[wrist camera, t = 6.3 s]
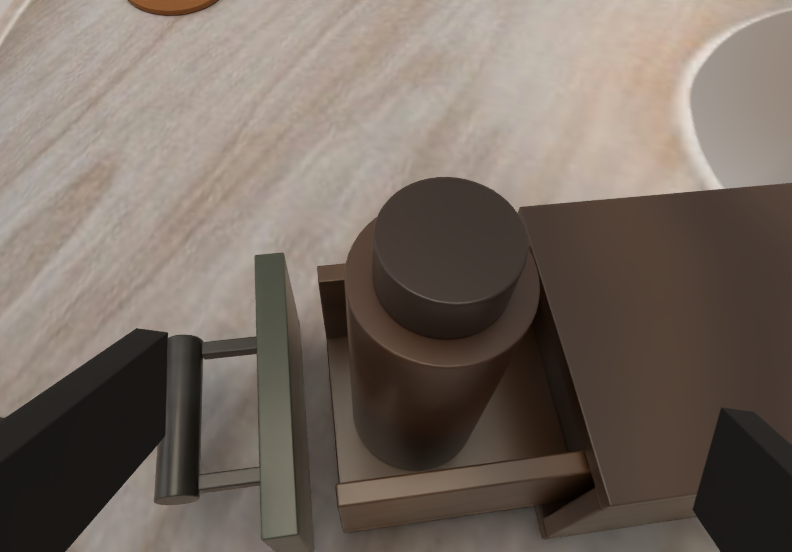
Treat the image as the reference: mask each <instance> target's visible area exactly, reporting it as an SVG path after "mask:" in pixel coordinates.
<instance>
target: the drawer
mask: <svg viewBox="0 0 792 552" xmlns="http://www.w3.org/2000/svg"><path fill="white" fill-rule="evenodd" d="M345 265H346V264H336V265H325V266H318V267H317V272H318V283H319V290H320V297H321V304H322V311H323V318H324V325H325V332H326V340H327V352H328V363H329V374H330V386H331V397H332V409H333V420H334V432H335V443H336V454H337V466H338V477H339V483H338V484H336V496H337V506H338V510H339V514H340V518H341V523H342V527H343V531H344V533H347V532H354V531H361V530H368V529H375V528H382V527H389V526H396V525H403V524H410V523H417V522H424V521H430V520H437V519H444V518H451V517H458V516H465V515H472V514H479V513H486V512H493V511H500V510H507V509H514V508H521V507H528V506H535V505H542V504H549V503H556V502H563V501H570V500H574V499H576V498H578V497H579V496H581V495H583V494H584V493H586V492H588V491H589V490H591V489H593V488H594V487H595V484H594V481H593V477H592V474H591V471H590V467H589V464H588V460H587V457H586V454H585V450H584V447H583V443H582V440H581V437H580V433H579V430H578V426H577V423H576V420H575V416H574V413H573V409H572V406H571V403H570V399H569V396H568V392H567V389H566V386H565V382H564V379H563V376H562V372H561V369H560V365H559V362H558V359H557V355H556V352H555V348H554V345H553V342H552V338H551V335H550V331H549V328H548V325H547V321H546V318H545V314H544V311H543V308H542V304H541V301H540V297H539V303H538V308H537V312H536V314H535V317H534V319H533V322H532V324H531V325H530V327H529V329H528V331H527V333H526V335H525V336H524V338H523V340H522V342H521V344H520V346H519V347H518V349H517V351H516V353H515V355H514V357H513V358H512V360H511V362H510V364H509V366H508V368H507V370H506V371H505V373H504V375H503V377H502V379H501V381H500V382H499V384H498V386H497V388H496V390H495V392H494V393H493V395H492V397H491V399H490V401H489V403H488V404H487V406H486V408H485V410H484V412H483V414H482V415H481V417H480V419H479V421H478V423H477V425H476V426H475V428H474V430H473V432H472V434H471V436H470V437H469V439H468V441H467V443H466V444H465V446H464V447H463V448H462V450H461V451H460V452H459V453H458V454H457V455H456V456H455V457H454V458H452V459H451V460H449V461H448V462H446V463H444V464H442V465H440V466H438V467H435V468H432V469H427V470H418V471H413V470H404V469H399V468H396V467H393V466H391V465H389V464H387V463H385V462H383V461H381V460H380V459H379V458H377V457H376V456H375V455H374V454H372V453H371V452H370V451H369V449H368V448H367V447H366V446H365V445H364V443H363V442H362V440H361V438H360V436H359V434H358V432H357V430H356V426H355V423H354V418H353V406H352V391H351V376H350V361H349V346H348V331H347V316H346V301H345V284H344V273H345ZM255 295H256V337H248V338H238V339H229V340H220V341H210V342H203V341H202V339H200V338H198V337H196V336H192V335H176V336H172V337H169V338H168V348H167V390H166V432H165V437H164V438H163V439H162V440H161V441H160V443H159V444H158V446H157V462H156V479H155V495H154V502H155V503H156V504H161V505H179V504H186V503H191V502H194V501H197V500H198V499H199V497H200V492H201V493H206V492H214V491H221V490H229V489H236V488H244V487H251V486H259V485H260V510H261V539H262V541H264V542H265V543H266V544H267V545H269V546H270V547H271V548H272V549H273V550H275V551H276V552H314V539H313V524H312V508H311V492H310V477H309V461H308V445H307V430H306V414H305V398H304V383H303V367H302V351H301V336H300V323H299V319H298V314H297V310H296V305H295V301H294V296H293V292H292V287H291V283H290V278H289V274H288V270H287V265H286V261H285V256H284V253H274V254H263V255H255ZM251 354H257V381H258V424H259V467H253V468H245V469H237V470H230V471H222V472H214V473H207V474H200V458H201V419H202V379H203V358H204V359H214V358H223V357H233V356H242V355H251Z"/></svg>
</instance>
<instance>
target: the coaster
mask: <svg viewBox="0 0 792 552" xmlns="http://www.w3.org/2000/svg"><path fill="white" fill-rule="evenodd" d="M128 1H129V2H130V3H131V4H132V5H134V6H135V7H137V8H139V9H141V10H143V11H146V12H149V13H153V14H159V15H180V14H187V13H191V12H195V11H198V10H201V9H204V8H206V7H208V6H210V5H212V4H213V3H215V2H216V1H218V0H128Z"/></svg>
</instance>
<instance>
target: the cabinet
mask: <svg viewBox="0 0 792 552" xmlns="http://www.w3.org/2000/svg"><path fill="white" fill-rule="evenodd" d="M518 215H519V217H520V219H521V221H522V222H523V225H524V228H525V230H526V235H527V239H528V249H529V251H530V253H531V255H532V256H533V259H534V262H535V264H536V267H537V271H538V276H539V283H540V296H539V297H540V301H541V304H542V308H543V311H544V314H545V318H546V321H547V325H548V328H549V331H550V335H551V338H552V342H553V345H554V348H555V352H556V355H557V359H558V362H559V365H560V369H561V372H562V376H563V379H564V382H565V386H566V389H567V392H568V396H569V399H570V403H571V406H572V409H573V413H574V416H575V420H576V423H577V426H578V430H579V433H580V437H581V440H582V443H583V447H584V450H585V454H586V457H587V460H588V464H589V467H590V471H591V474H592V477H593V481H594V484H595V487H594V488H593V489H591V490H589V491H588V492H586V493H584V494H583V495H581V496H579V497H578V498H576V499H574V500H570V501H563V502H556V503H549V504H542V505H535V510H536V514H537V518H538V522H539V526H540V531H541V535H542V538H543V539H551V538H558V537H564V536H571V535H578V534H584V533H591V532H598V531H604V530H611V529H618V528H624V527H631V526H638V525H644V524H651V523H658V522H664V521H671V520H678V519H684V518H691V517H697V516H696V514H695V513H694V511H693V510H692V509H693V506H694V502H695V499H696V495H697V491H698V488H699V484H700V481H701V477H702V474H703V470H704V467H705V463H706V459H707V456H708V452H709V449H710V445H711V442H712V438H713V435H714V431H715V427H716V424H717V420H718V417H719V413H720V410H721V407H722V408H730V409H737V410H745V411H752V412H755V413H756V414H757V415H759V416H760V417H761V418H762V419H763V420H764V421H765V422H766V423H768V424H769V425H770V426H771V427H772V428H773V429H774V430H775V431H777V432H778V433H779V434H780V435H781V436H782V437H783V438H784V439H785V440H787V441H788V442H789V443H790V444H791V445H792V183H786V184H776V185H764V186H752V187H741V188H730V189H718V190H707V191H696V192H684V193H673V194H662V195H651V196H639V197H628V198H617V199H605V200H594V201H583V202H571V203H560V204H549V205H537V206H526V207H520V208H519V211H518Z"/></svg>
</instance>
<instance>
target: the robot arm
mask: <svg viewBox="0 0 792 552" xmlns="http://www.w3.org/2000/svg"><path fill="white" fill-rule="evenodd" d="M167 348H168V333H167V332H159V331H152V330H145V329H137V328H136V329H135V330H133V331H132V332H131V333H129V334H128V335H126V336H125V337H123V338H122V339H120V340H119V341H117V342H116V343H114V344H113V345H111V346H110V347H109V348H107V349H106V350H104V351H103V352H101V353H100V354H98V355H97V356H95V357H94V358H92V359H91V360H89V361H88V362H87V363H85V364H84V365H82V366H81V367H79V368H78V369H76V370H75V371H73V372H72V373H70V374H69V375H67V376H66V377H65V378H63V379H62V380H60V381H59V382H57V383H56V384H54V385H53V386H51V387H50V388H48V389H47V390H46V391H44V392H43V393H41V394H40V395H38V396H37V397H35V398H34V399H32V400H31V401H29V402H28V403H26V404H25V405H24V406H22V407H21V408H19V409H18V410H16V411H15V412H13V413H12V414H10V415H9V416H7V417H6V418H1V417H0V552H65V551H66V550H67V549H68V548H69V547H70V546H71V544H72V543H73V542H74V541H75V540H76V539H77V538H78V536H79V535H80V534H81V533H82V532H83V531H84V529H85V528H86V527H87V526H88V525H89V524H90V522H91V521H92V520H93V519H94V518H95V517H96V516H97V514H98V513H99V512H100V511H101V510H102V509H103V507H104V506H105V505H106V504H107V503H108V502H109V500H110V499H111V498H112V497H113V496H114V495H115V494H116V492H117V491H118V490H119V489H120V488H121V487H122V485H123V484H124V483H125V482H126V481H127V480H128V479H129V477H130V476H131V475H132V474H133V473H134V472H135V470H136V469H137V468H138V467H139V466H140V465H141V463H142V462H143V461H144V460H145V459H146V458H147V457H148V455H149V454H150V453H151V452H152V451H153V450H154V448H155V447H156V446H157V445H158V444H159V443H160V441H161V440H162V439H163V438H164V437H165V432H166V390H167ZM692 510H693V511H694V513H695V514H696V516H697V517H698V519H699V520H700V522H701V523H702V525H703V526H704V528H705V529H706V531H707V532H708V534H709V535H710V537H711V538H712V539H713V541H714V542H715V544H716V545H717V547H718V548H719V550H720V551H721V552H792V445H791V444H790V443H789V442H788V441H787V440H785V439H784V438H783V437H782V436H781V435H780V434H779V433H778V432H777V431H775V430H774V429H773V428H772V427H771V426H770V425H769V424H768V423H766V422H765V421H764V420H763V419H762V418H761V417H760V416H759V415H757V414H756V413H755V412H752V411H745V410H737V409H730V408H722V407H721V410H720V413H719V417H718V420H717V424H716V427H715V431H714V435H713V438H712V442H711V445H710V449H709V452H708V456H707V459H706V463H705V467H704V470H703V474H702V477H701V481H700V484H699V488H698V491H697V495H696V499H695V502H694V506H693V509H692Z"/></svg>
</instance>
